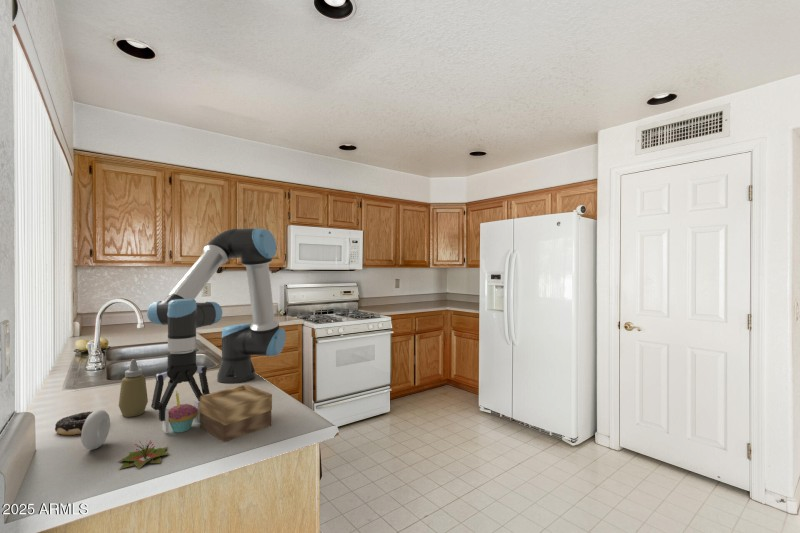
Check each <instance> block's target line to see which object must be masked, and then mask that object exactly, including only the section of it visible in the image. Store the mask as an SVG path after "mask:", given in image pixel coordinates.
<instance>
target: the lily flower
mask: <svg viewBox="0 0 800 533" xmlns="http://www.w3.org/2000/svg"><path fill="white" fill-rule="evenodd" d="M147 441H148V440H146V442H145V443H147ZM138 442H139V443H140V444H141V446H140V445H138V444H137V443H134V445H135V447H136V449H135V451H130V452H128V455H127V456H125V457H124V458H122V459H121V460H118V461H117V462H123V464H121V466H120V467H119V468H118V470H122V469H124V468H129V467H133V466H136V468H137V470H140V469H141V468H142V467H143V466H144V465H145V464H162V463H161V462H162V457H161V456H167V455H170V453H169V452H167V451H166V450H167V449H168V448H169V446H167V447H159V448H155V447H156V446H155V445H154V443H153V441H152V440H149V442H148V443H147V444H145V445H143V444H142V442H141V441H138ZM137 448H140V449H141V450H140V449H137ZM147 457H148V458H147ZM142 458H143V459H144V460H142ZM151 460H152V461H151ZM124 461H125V462H124Z"/></svg>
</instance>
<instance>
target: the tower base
mask: <svg viewBox="0 0 800 533" xmlns="http://www.w3.org/2000/svg"><path fill="white" fill-rule="evenodd" d="M268 427H272V410H271V411H268V412H265V413H262V414H259V415H256V416H252V417H249V418H246V419H243V420H240V421H237V422H234V423H231V424H228V425H223V424H221V423H219V422H218V421H216V420H214V419H212V418H210V417H208V416H206V415H204V414H202V413H200V423H199V428H201V429H202V430H204V431H206V432H207V433H209V434H210V435H212V436H213V437H214V438H217V439H218V440H220V442H222V443H224V442H227V441H230V440H233V439H236V438H238V437H239V438H240V437H242V436H245V435H248V434H251V433H254V432H256V431H259V430H262V429H265V428H268Z"/></svg>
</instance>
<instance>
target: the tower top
mask: <svg viewBox="0 0 800 533" xmlns="http://www.w3.org/2000/svg"><path fill="white" fill-rule="evenodd" d="M272 410H273V394H272V393H270V392H267V391H264V390H263V389H259V388H257V387H254V386H251V385H248V384H245V383H244V384H242V385H238V386H234V387H231V388H226V389H222V390H218V391H215V392H211V393H210V394H206V395H202V396H200V413H202V414H204V415H206V416H208V417H210V418H212V419H214V420H216V421H218V422H219V423H221V424H223V425H228V424H231V423H234V422H237V421H240V420H243V419H246V418H249V417H252V416H256V415H259V414H262V413H265V412H268V411H271V412H272Z"/></svg>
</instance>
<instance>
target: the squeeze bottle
mask: <svg viewBox="0 0 800 533" xmlns="http://www.w3.org/2000/svg"><path fill="white" fill-rule="evenodd" d="M146 380H147V379H146V376H145V375H144V374H143V370H142V368H139V367H138V363H137V359H136V358H133V359H131V361H130V364H129V368H128V369H126V370H125V371H124V377H123V378H122V379H121V383H120V389H119V390H120V392H119V401H118V408H119V410H120V413H121V415H122V416H123V417H127V418H129V417H131V418H132V417H136V416H140V415H142V414H144V413H145V410H146V408H147V405H148V403H149V399H148V390H147V382H146Z"/></svg>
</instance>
